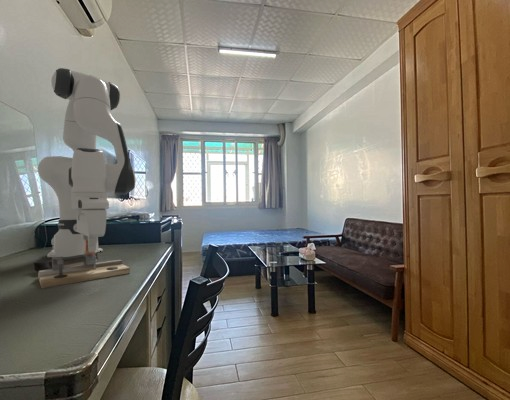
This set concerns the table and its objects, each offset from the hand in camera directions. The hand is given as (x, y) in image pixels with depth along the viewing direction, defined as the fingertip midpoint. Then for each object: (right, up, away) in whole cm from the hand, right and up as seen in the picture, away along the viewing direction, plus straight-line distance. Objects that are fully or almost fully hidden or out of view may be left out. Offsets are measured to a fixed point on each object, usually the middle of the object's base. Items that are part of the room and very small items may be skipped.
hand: (89, 250), depth 78 cm
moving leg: (+2, -4, -2) cm, 5 cm away
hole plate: (+1, -7, -3) cm, 7 cm away
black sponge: (-12, -7, +8) cm, 16 cm away
